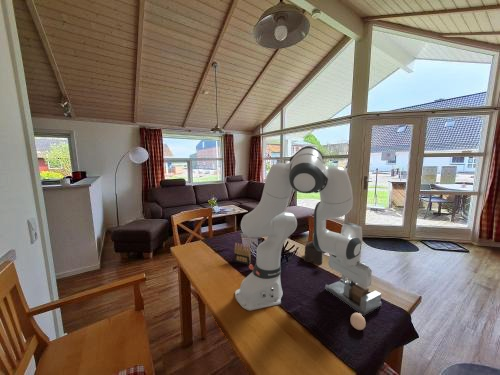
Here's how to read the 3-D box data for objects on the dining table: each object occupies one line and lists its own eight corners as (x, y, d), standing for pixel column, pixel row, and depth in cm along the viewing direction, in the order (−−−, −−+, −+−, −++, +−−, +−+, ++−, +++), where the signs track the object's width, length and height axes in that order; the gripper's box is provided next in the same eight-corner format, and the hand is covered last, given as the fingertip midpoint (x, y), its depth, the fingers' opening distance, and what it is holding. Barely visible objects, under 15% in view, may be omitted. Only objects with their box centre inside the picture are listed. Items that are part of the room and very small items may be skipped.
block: (360, 304, 90) (362, 291, 89) (351, 298, 94) (352, 285, 93) (367, 301, 92) (368, 288, 91) (357, 295, 96) (359, 283, 95)
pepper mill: (303, 261, 129) (305, 233, 126) (305, 254, 139) (307, 228, 137) (330, 267, 123) (332, 237, 121) (331, 258, 133) (333, 231, 131)
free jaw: (348, 299, 93) (349, 286, 92) (343, 296, 95) (344, 283, 94) (361, 293, 97) (362, 281, 96) (356, 290, 99) (357, 278, 98)
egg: (351, 320, 83) (353, 307, 82) (366, 327, 80) (367, 313, 79) (348, 328, 79) (349, 314, 78) (363, 336, 76) (364, 321, 75)
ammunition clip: (250, 263, 126) (251, 244, 124) (249, 265, 124) (249, 245, 123) (235, 259, 131) (235, 241, 129) (233, 261, 129) (233, 242, 127)
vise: (363, 316, 85) (365, 302, 84) (324, 289, 102) (325, 276, 101) (381, 306, 90) (382, 293, 90) (341, 282, 108) (342, 270, 107)
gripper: (376, 265, 89) (373, 295, 91) (335, 247, 106) (333, 272, 108) (367, 269, 85) (364, 300, 88) (327, 250, 103) (325, 276, 105)
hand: (347, 285), depth 98 cm, fingers closed
